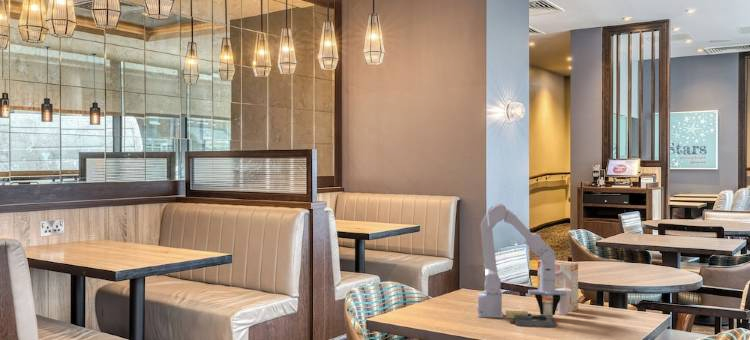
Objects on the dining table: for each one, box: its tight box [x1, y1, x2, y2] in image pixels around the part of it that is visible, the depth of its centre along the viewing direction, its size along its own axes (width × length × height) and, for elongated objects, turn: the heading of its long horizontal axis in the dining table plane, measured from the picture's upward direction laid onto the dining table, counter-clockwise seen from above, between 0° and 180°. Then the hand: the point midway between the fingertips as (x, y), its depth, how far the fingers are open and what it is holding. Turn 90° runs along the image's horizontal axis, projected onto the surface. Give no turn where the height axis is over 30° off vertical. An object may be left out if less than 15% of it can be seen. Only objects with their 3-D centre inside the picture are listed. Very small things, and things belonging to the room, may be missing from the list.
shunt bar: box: [505, 310, 529, 319], centre depth 245 cm, size 8×3×2 cm, turn 81°
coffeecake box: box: [537, 259, 579, 313], centre depth 269 cm, size 15×7×20 cm, turn 49°
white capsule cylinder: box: [542, 302, 554, 319], centre depth 252 cm, size 4×4×6 cm
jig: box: [513, 312, 555, 328], centre depth 244 cm, size 14×10×3 cm
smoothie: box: [555, 279, 572, 316], centre depth 259 cm, size 6×6×14 cm
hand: (547, 314), depth 252 cm, fingers closed on white capsule cylinder, 4 cm apart
